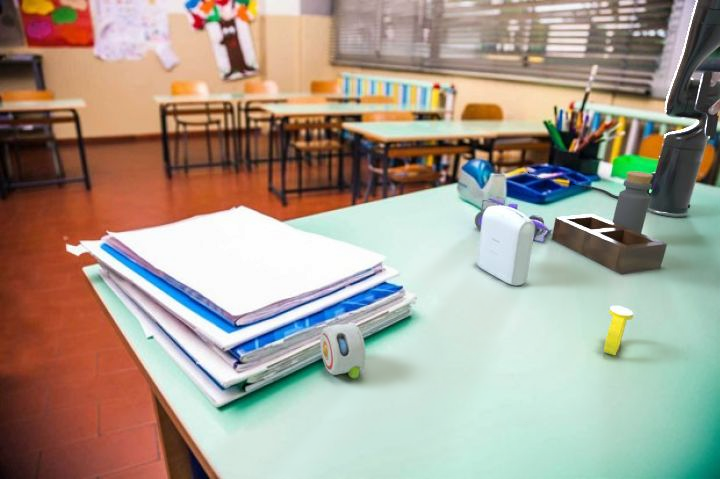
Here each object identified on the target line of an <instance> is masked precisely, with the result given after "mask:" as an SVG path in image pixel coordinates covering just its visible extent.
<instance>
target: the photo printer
mask: <svg viewBox="0 0 720 479" xmlns="http://www.w3.org/2000/svg"><path fill="white" fill-rule="evenodd" d="M534 232H535V226H534V223H533V222H532V221H531V220H530V219H529V217H528V216H527V215H526V214H525V213H524V212H522V211H520V210H518V209H517V210H516V209H514V208H511V207H508V205H506V206H502V205H496V206H490V207H488V208H487V209H486V210H485V211H484V214H483V217H482V224H481V230H480V234H479V242H478V248H477V258H476V265H477V266H478V268H480V269H482V270H483V271H485V272H486V273H489V274H490V275H492V276H494V277H495V278H497V279H499V280H501V281H502V282H505V283H506V284H508V285H512V286H521V285H524V284H525V282H526V281H527V280H528V274H529V268H530V262H531V257H532V250H533V243H534V238H535V236H534Z"/></svg>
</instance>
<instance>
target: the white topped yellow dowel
mask: <svg viewBox="0 0 720 479" xmlns="http://www.w3.org/2000/svg"><path fill="white" fill-rule="evenodd" d="M608 310H609V311H608V314H609V315H610V316H612V318H611V322H610V324H609V328H608V330H607V334H606V338H605V342H604V347H603V352H604V353H606V354H609V355H612V356H616V354H617V352H618V350H619V348H620V345H621V342H622V339H623V335H624V332H625V328H626V324H627V321H630V320H632V319H633V317H634V312H633V311H632V310H631V309H629V308H627V307H624V306H621V305H612V306H609V309H608Z"/></svg>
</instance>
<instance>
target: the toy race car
mask: <svg viewBox="0 0 720 479" xmlns="http://www.w3.org/2000/svg"><path fill="white" fill-rule="evenodd" d="M496 205H502V206H508V207H511V208H514V209H516V210H518V204H517V203H513V202H512V203H509V204H507V205H506V199H505V198H504V197H500V196H495V195H489V196H488V199H487V200H486V199H482V203H481V210H480V211H479V212H478V213H477V214H476V215H475V217H474V224H475V227H476V228H477V229H478V230H479V231H481V224H482V217H483V214H484V211H485V210H486V209H487V208H488V207H490V206H496ZM528 218H529V219H530V220H531V221H532V222H533V223H534V226H535V232H534V238H533V241H536V242H541V243H544V241H545V238H546V236H547V235H550V234H551V233H552V229H550V228H548V227H547V226H546V225H545V220H544V218H543V217H542V216H541V215H539V214H532V215H530V216H529V217H528ZM540 231H541V233H540V235H539V234H537V233H538V232H540Z"/></svg>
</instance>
